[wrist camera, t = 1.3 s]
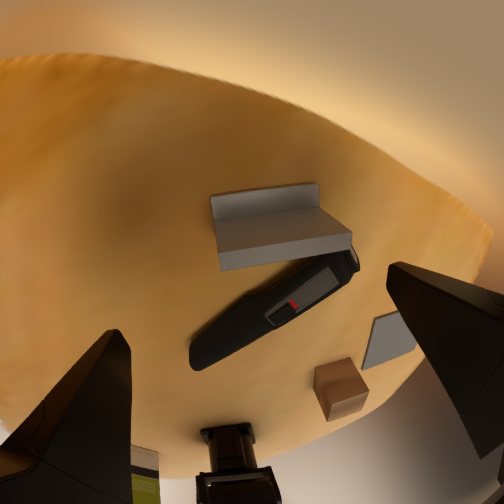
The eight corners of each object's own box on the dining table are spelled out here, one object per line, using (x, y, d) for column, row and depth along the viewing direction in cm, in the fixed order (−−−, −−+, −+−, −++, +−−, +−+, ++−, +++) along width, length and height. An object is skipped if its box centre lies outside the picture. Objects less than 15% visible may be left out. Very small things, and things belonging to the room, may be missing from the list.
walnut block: (344, 378, 28) (361, 410, 23) (312, 387, 27) (327, 422, 23) (349, 356, 26) (369, 390, 22) (315, 366, 26) (332, 404, 21)
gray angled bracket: (317, 224, 19) (350, 255, 14) (217, 239, 18) (222, 278, 13) (316, 182, 17) (353, 202, 13) (210, 196, 17) (213, 221, 12)
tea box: (136, 471, 35) (137, 533, 21) (86, 455, 31) (81, 519, 18) (161, 451, 31) (164, 534, 17) (97, 432, 27) (88, 519, 14)
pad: (412, 348, 28) (413, 349, 28) (361, 368, 28) (362, 370, 27) (430, 298, 25) (431, 300, 25) (374, 318, 24) (375, 320, 24)
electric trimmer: (177, 331, 21) (175, 359, 18) (338, 221, 19) (359, 238, 16) (206, 354, 23) (208, 382, 20) (356, 256, 21) (376, 276, 18)
